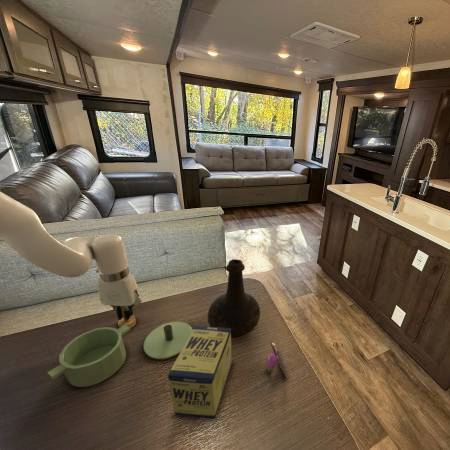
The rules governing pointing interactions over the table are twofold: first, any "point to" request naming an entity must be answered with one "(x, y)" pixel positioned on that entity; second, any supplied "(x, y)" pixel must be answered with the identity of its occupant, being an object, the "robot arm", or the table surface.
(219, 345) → the protein box
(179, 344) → the pot lid
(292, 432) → the table surface
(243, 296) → the glass bottle
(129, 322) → the disc with rod handle
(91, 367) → the pot
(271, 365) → the purple flower twig
